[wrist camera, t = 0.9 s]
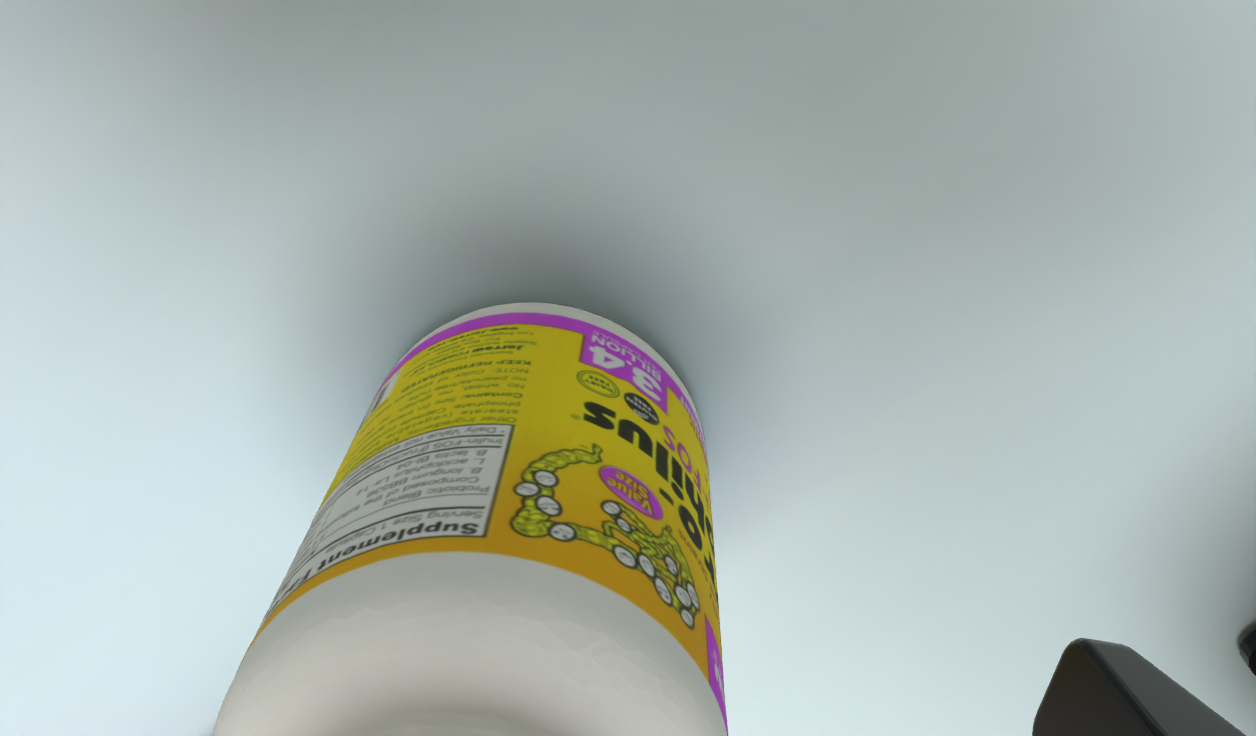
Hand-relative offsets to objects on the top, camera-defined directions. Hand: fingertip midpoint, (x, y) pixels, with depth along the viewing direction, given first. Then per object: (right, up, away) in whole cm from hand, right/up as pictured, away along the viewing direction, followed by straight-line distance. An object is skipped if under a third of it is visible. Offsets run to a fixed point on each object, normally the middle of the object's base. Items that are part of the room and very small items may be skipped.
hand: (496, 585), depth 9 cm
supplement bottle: (-1, 0, +14) cm, 14 cm away
